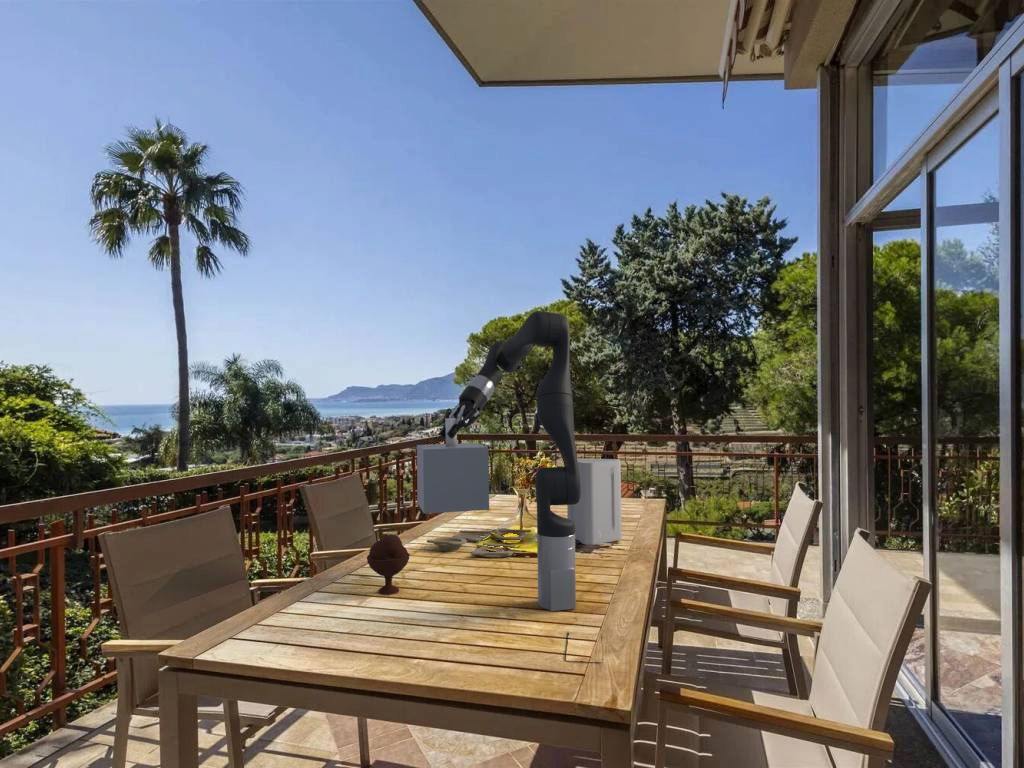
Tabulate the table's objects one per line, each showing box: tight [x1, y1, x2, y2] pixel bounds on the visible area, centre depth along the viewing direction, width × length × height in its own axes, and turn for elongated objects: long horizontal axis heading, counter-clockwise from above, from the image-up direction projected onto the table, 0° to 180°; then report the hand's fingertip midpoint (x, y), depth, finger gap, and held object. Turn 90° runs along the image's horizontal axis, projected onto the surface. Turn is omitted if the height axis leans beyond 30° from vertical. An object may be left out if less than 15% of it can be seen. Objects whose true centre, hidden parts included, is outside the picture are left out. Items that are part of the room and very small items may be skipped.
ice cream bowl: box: [366, 534, 411, 596], centre depth 159 cm, size 11×11×15 cm
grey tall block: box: [566, 458, 623, 546], centre depth 215 cm, size 19×15×28 cm
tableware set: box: [426, 528, 532, 559], centre depth 209 cm, size 35×29×4 cm
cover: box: [416, 417, 490, 515], centre depth 174 cm, size 18×18×25 cm
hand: (445, 436), depth 173 cm, fingers closed on cover, 3 cm apart
